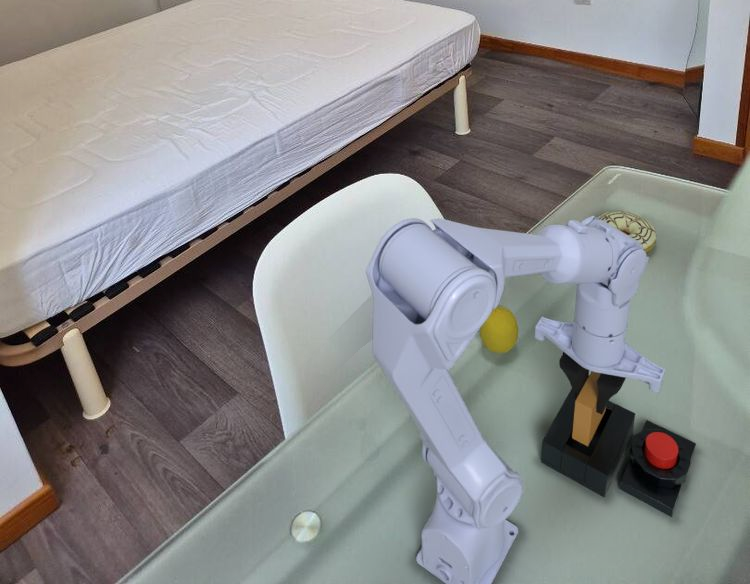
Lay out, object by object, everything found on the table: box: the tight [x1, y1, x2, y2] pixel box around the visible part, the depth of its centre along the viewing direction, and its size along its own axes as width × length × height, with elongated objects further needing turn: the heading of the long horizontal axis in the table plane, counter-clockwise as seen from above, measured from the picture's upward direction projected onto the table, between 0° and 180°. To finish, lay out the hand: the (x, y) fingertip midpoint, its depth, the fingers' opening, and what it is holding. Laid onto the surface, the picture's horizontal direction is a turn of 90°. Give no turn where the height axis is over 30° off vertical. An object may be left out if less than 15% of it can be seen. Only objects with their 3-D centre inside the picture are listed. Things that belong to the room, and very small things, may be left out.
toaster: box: [540, 388, 636, 498], centre depth 85 cm, size 10×8×4 cm
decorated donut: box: [596, 210, 657, 254], centre depth 120 cm, size 10×11×4 cm
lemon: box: [479, 305, 519, 354], centre depth 99 cm, size 6×6×8 cm
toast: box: [572, 371, 606, 446], centre depth 83 cm, size 6×2×6 cm, turn 144°
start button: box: [644, 432, 678, 469], centre depth 82 cm, size 4×4×2 cm
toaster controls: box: [618, 419, 697, 518], centre depth 83 cm, size 10×6×3 cm, turn 143°
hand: (591, 402), depth 83 cm, fingers closed on toast, 2 cm apart
